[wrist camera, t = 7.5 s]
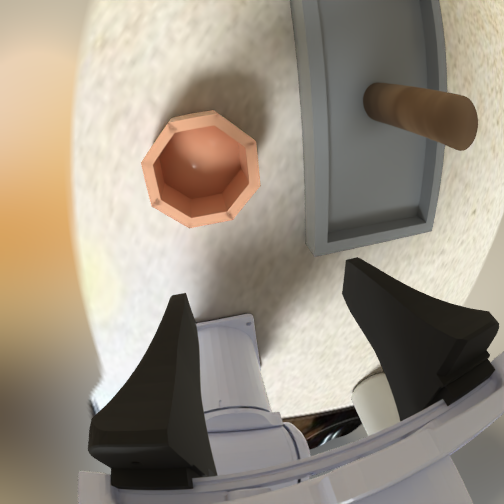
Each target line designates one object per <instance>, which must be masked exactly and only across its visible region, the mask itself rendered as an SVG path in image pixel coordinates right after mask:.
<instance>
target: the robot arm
mask: <svg viewBox="0 0 504 504" xmlns="http://www.w3.org/2000/svg"><path fill="white" fill-rule="evenodd" d="M342 295H343V297H344V299H345V301H346V304H347V306H348V308H349V310H350V312H351V314H352V315H353V317H354V318H355V320H356V322H357V323H358V325H359V326H360V328H361V330H362V331H363V333H364V334H365V336H366V338H367V339H368V341H369V342H370V344H371V346H372V347H373V349H374V351H375V353H376V355H377V357H378V359H379V361H380V364H381V366H382V368H383V370H384V373H385V375H386V378H387V380H388V383H389V386H390V389H391V391H392V394H393V397H394V400H395V404H396V407H397V411H398V414H399V418H400V422H399V423H396V424H394V425H392V426H390V427H388V428H386V429H383V430H381V431H379V432H377V433H374V434H372V435H369V436H367V437H365V438H362V439H360V440H357V441H354V442H352V443H349V444H346V445H344V446H341V447H338V448H335V449H332V450H329V451H326V452H323V453H320V454H317V455H313V456H310V451H309V447H308V444H307V442H306V440H305V438H304V436H303V434H302V433H301V432H300V431H299V430H298V429H297V428H296V427H295V426H294V425H293V424H291V423H289V422H284V423H283V422H282V419H281V415H280V413H279V412H272V411H271V407H270V404H269V400H268V397H267V393H266V389H265V386H264V382H263V378H262V375H261V367H260V360H259V353H258V346H257V339H256V332H255V325H254V318H253V315H252V314H243V315H238V316H233V317H228V318H223V319H218V320H213V321H207V322H202V323H195V320H194V317H193V314H192V311H191V308H190V305H189V301H188V298H187V295H186V293H183V294H178V295H172V296H171V298H170V300H169V303H168V306H167V308H166V311H165V313H164V316H163V318H162V321H161V323H160V325H159V327H158V329H157V332H156V334H155V336H154V338H153V340H152V342H151V344H150V346H149V348H148V349H147V351H146V353H145V355H144V356H143V358H142V360H141V361H140V363H139V365H138V366H137V368H136V369H135V371H134V372H133V373H132V375H131V376H130V378H129V379H128V380H127V382H126V383H125V384H124V386H123V387H122V388H121V389H120V390H119V391H118V393H117V394H116V395H115V396H114V397H113V398H112V400H111V401H110V402H109V403H108V404H107V405H106V406H105V407H104V408H103V409H102V410H100V411H99V412H98V413H97V414H96V415H95V416H94V417H93V418H92V420H91V425H90V430H89V442H88V451H89V453H90V454H91V456H93V457H94V458H95V459H97V460H98V461H100V462H102V463H104V464H105V465H107V466H108V467H110V468H111V475H109V474H106V473H99V472H88V471H79V475H78V476H79V477H78V478H79V479H78V504H473V502H472V500H471V498H470V495H469V493H468V491H467V489H466V487H465V485H464V483H463V481H462V479H461V477H460V475H459V472H458V471H457V468H456V466H455V464H454V463H453V461H452V459H451V457H450V455H451V454H453V453H454V452H455V451H457V450H458V449H460V448H461V447H463V446H464V445H465V444H466V443H468V442H469V441H471V440H472V439H473V438H475V437H476V436H477V435H478V434H480V433H481V432H482V431H483V430H485V429H486V428H487V427H488V426H489V425H491V424H492V423H493V422H494V421H495V420H496V419H498V418H499V417H500V416H501V415H502V414H503V413H504V352H502V353H501V354H500V355H499V356H497V357H496V358H495V359H494V360H493V361H492V362H491V363H490V361H489V360H488V358H489V356H490V354H489V353H488V352H487V348H488V347H489V345H490V344H491V342H492V341H493V339H494V337H495V336H496V334H497V331H498V329H499V323H498V322H497V321H496V319H495V318H494V317H493V316H492V315H491V314H490V312H488V311H482V310H476V309H470V308H466V307H462V306H458V305H454V304H451V303H448V302H445V301H442V300H439V299H436V298H433V297H431V296H429V295H426V294H424V293H422V292H419V291H417V290H415V289H413V288H411V287H409V286H407V285H405V284H403V283H402V282H400V281H398V280H396V279H394V278H393V277H391V276H389V275H387V274H386V273H384V272H382V271H381V270H379V269H377V268H376V267H374V266H372V265H371V264H369V263H367V262H365V261H364V260H362V259H360V258H358V257H357V258H353V259H348V260H346V265H345V274H344V283H343V291H342ZM247 322H249V323H247ZM386 447H387V448H386ZM363 457H364V458H363ZM358 459H359V460H358ZM353 461H354V462H353ZM348 463H349V464H348ZM345 464H347V465H345ZM343 465H344V466H343ZM340 466H342V467H340ZM337 467H339V468H337ZM334 468H337V469H336V470H333V471H331V472H329V473H327V474H324V475H322V476H319V477H316V478H313V479H310V480H309V478H310V476H312V475H315V474H318V473H322V472H325V471H328V470H331V469H334Z"/></svg>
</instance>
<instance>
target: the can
mask: <svg viewBox="0 0 504 504" xmlns="http://www.w3.org/2000/svg"><path fill="white" fill-rule="evenodd" d="M351 400H352V402H353V404H354V406H355V408H356V411H357V413H358V415H359V417H360V419H361V421H362V424H363V426H364V428H365V430H366V432H367V434H368V436H369V435H372V434H374V433H377V432H379V431H381V430H383V429H386V428H388V427H390V426H392V425H394V424H396V423H399V422H400V418H399V414H398V411H397V407H396V404H395V400H394V397H393V394H392V391H391V389H390V386H389V383H388V380H387V378H386V375H385V374H384V373H379V374H375V375H373V376H371V377H369V378H367V379H365V380H364V381H362V382H361V383H360V384H358V385H357V387H356V388H355V389H354V392H353V394H352V396H351ZM386 448H387V447H386Z"/></svg>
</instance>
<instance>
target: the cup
mask: <svg viewBox="0 0 504 504" xmlns="http://www.w3.org/2000/svg"><path fill="white" fill-rule="evenodd" d="M141 165H142V169H143V173H144V178H145V182H146V186H147V190H148V194H149V198H150V202H151V205H152V207H154V208H156V209H157V210H159V211H161V212H162V213H164V214H166V215H167V216H169V217H171V218H173V219H174V220H176V221H178V222H179V223H181V224H183V225H185V226H186V227H188V228H193V227H198V226H203V225H208V224H214V223H219V222H224V221H230V220H233V219H234V218H235V216H236V215H237V214H238V213H239V212H240V210H241V209H242V208H243V207H244V205H245V204H246V203H247V202H248V200H249V199H250V198H251V197H252V195H253V194H254V193H255V192H256V191H257V189H258V188H259V187H260V186H261V185H260V176H259V166H258V156H257V146H256V141H255V140H254V139H253V138H251V137H250V136H249V135H248V134H246V133H245V132H244V131H242V130H241V129H239V128H238V127H237V126H235V125H234V124H233V123H231V122H230V121H229V120H227V119H226V118H224V117H223V116H221V115H220V114H219V113H217V112H216V111H215V110H211V111H205V112H197V113H191V114H187V115H183V116H178V117H173V118H171V119H170V121H169V122H168V124H167V125H166V126H165V128H164V129H163V131H162V132H161V134H160V135H159V136H158V138H157V139H156V141H155V142H154V144H153V145H152V147H151V148H150V150H149V151H148V153H147V154H146V156H145V157H144V159H143V161H142V162H141Z"/></svg>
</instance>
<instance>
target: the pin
mask: <svg viewBox="0 0 504 504" xmlns="http://www.w3.org/2000/svg"><path fill="white" fill-rule="evenodd" d="M363 106H364V109H365V111H366V113H367V115H368V116H369V117H370V118H371V119H373V120H375V121H378V122H381V123H385V124H388V125H391V126H394V127H397V128H400V129H403V130H406V131H409V132H412V133H415V134H418V135H421V136H423V137H426V138H429V139H431V140H434V141H437V142H439V143H442V144H444V145H447V146H449V147H451V148H454V149H456V150H459V151H462V150H465V149H467V148H468V147H469V146H470V145H471V144H472V143H473V141H474V139H475V136H476V133H477V128H478V118H477V112H476V109H475V107H474V105H473V103H472V102H471V100H470V99H468V98H467V97H465V96H461V95H457V94H452V93H447V92H442V91H437V90H432V89H426V88H419V87H413V86H405V85H397V84H388V83H373V84H371V85H370V86H369V87H368V88H367V89H366V91H365V93H364V96H363Z"/></svg>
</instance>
